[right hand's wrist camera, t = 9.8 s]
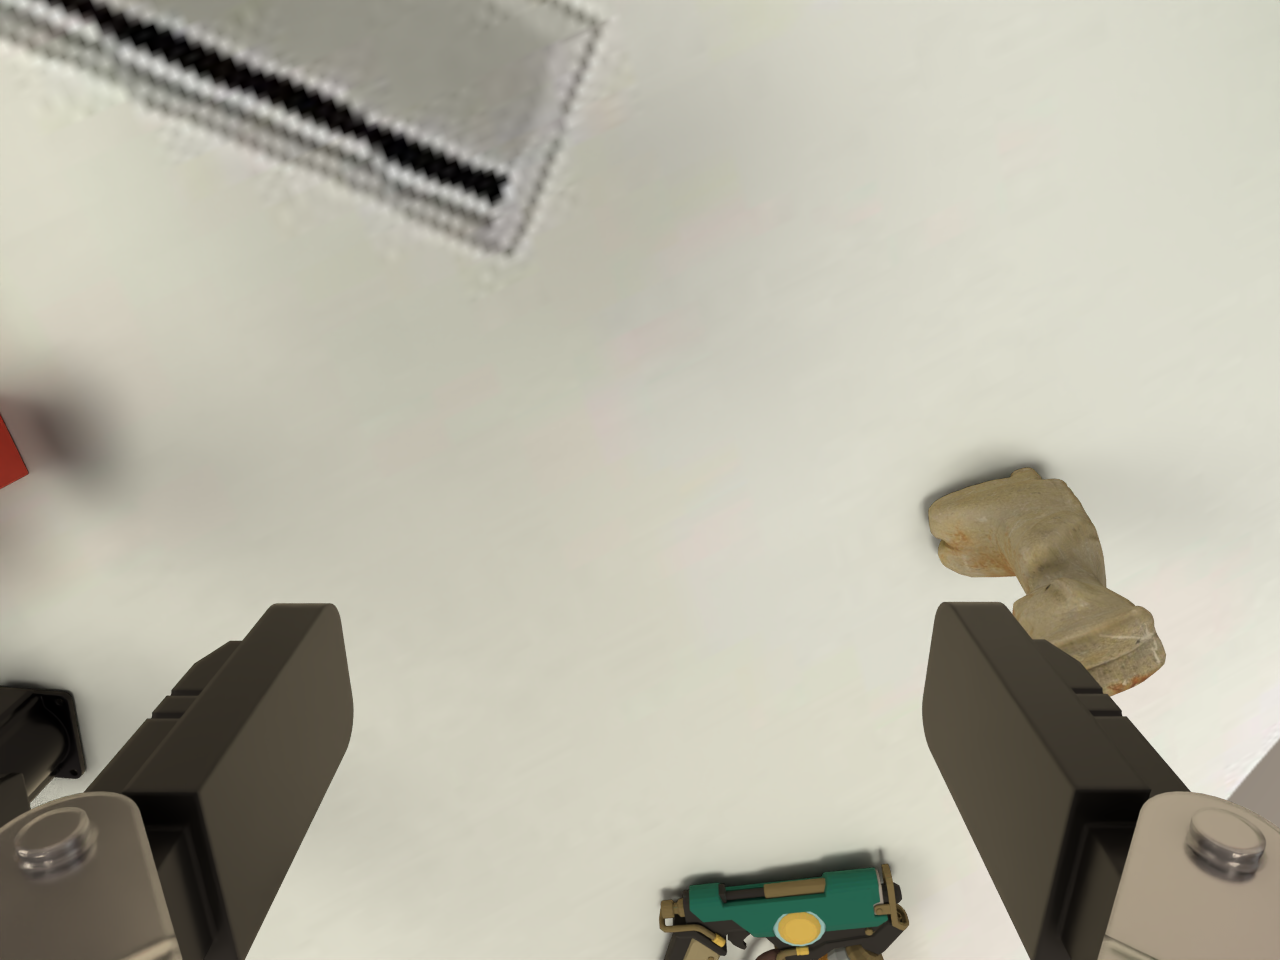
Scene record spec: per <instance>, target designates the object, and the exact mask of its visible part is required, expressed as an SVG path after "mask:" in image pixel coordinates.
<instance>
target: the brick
mask: <svg viewBox="0 0 1280 960" xmlns="http://www.w3.org/2000/svg"><path fill="white" fill-rule="evenodd" d="M27 474H28V471H27V469H26V467H25V465H24V463H23V461H22V459H21V457H20V455H19V452H18V450H17V448H16V446H15V444H14V442H13V440H12V438H11V436H10V434H9V432H8V430H7V428H6V426H5V424H4V422H3V420H2V417H1V415H0V489H1V488H3V487H5V486H7V485H9V484H11V483H13V482H14V481H16V480H18V479H20V478H22V477H24V476H26V475H27Z"/></svg>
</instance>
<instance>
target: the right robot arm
mask: <svg viewBox="0 0 1280 960" xmlns="http://www.w3.org/2000/svg"><path fill="white" fill-rule="evenodd" d="M171 691H172V693H171V696H166V697H165V698H164V700H163V701H162V702H161V703H160V704H159V705H158V707H157V708H156V709H155V710H154V711H153V712H152V718H151V719H146V721H145V722H144V723H143V724H142V725H141V726H140V727H139V729H138V730H137V731H136V732H135V733H134V734H133V736H132V737H131V738H130V739H129V740H128V741H127V743H126V744H125V745H124V746H123V747H122V748H121V750H120V751H119V752H118V753H117V754H116V755H115V757H114V758H113V759H112V760H111V761H110V762H109V764H108V765H107V766H106V767H105V768H104V769H103V771H102V772H101V773H100V774H99V775H98V776H97V778H96V779H95V780H94V781H93V782H92V783H91V784H90V786H89V787H88V788H87V789H86V790H85V791H84V793H78V794H74V795H70V796H65V797H62V798H59V799H56V800H53V801H50V802H47V803H45V804H42V805H40V806H37V807H35V808H33V809H31V810H29V811H27V812H25V813H23V814H21V815H20V816H18V817H16V818H15V819H13V820H11V821H10V822H8V823H7V824H5V825H4V826H3V827H1V828H0V960H245V958H246V956H247V954H248V952H249V950H250V948H251V946H252V944H253V942H254V940H255V937H256V935H257V933H258V931H259V929H260V927H261V925H262V923H263V921H264V919H265V917H266V915H267V913H268V911H269V909H270V907H271V904H272V902H273V900H274V898H275V896H276V894H277V892H278V890H279V888H280V886H281V884H282V882H283V880H284V878H285V876H286V874H287V872H288V869H289V867H290V865H291V863H292V861H293V859H294V857H295V855H296V853H297V851H298V849H299V847H300V845H301V843H302V841H303V839H304V837H305V834H306V832H307V830H308V828H309V826H310V824H311V822H312V820H313V818H314V816H315V814H316V812H317V810H318V808H319V806H320V804H321V802H322V799H323V797H324V795H325V793H326V791H327V789H328V787H329V785H330V783H331V781H332V779H333V777H334V775H335V773H336V771H337V769H338V766H339V764H340V762H341V760H342V758H343V756H344V754H345V752H346V750H347V747H348V744H349V741H350V737H351V732H352V726H353V698H352V691H351V684H350V678H349V671H348V665H347V658H346V651H345V645H344V638H343V631H342V625H341V619H340V615H339V612H338V610H337V608H336V607H335V605H333V604H331V603H277V604H273V605H272V606H270V607H269V608H268V610H267V611H266V612H265V613H264V615H263V616H262V617H261V618H260V619H259V621H258V622H257V623H256V624H255V626H254V627H253V628H252V629H251V631H250V632H249V633H248V634H247V636H246V637H245V638H244V639H243V641H229V642H227V643H226V644H224V645H223V646H221V647H220V648H218V649H217V650H215V651H213V652H212V653H210V654H209V655H207V656H206V657H204V658H202V659H201V660H199V661H198V662H196V663H195V664H194V665H193V666H192V667H191V668H190V669H189V671H188V672H187V673H186V674H185V675H184V676H183V677H182V679H181V680H180V681H179V682H178V683H177V684H176V686H175V687H174V688H173V689H172V690H171ZM922 716H923V726H924V732H925V737H926V741H927V744H928V747H929V749H930V751H931V753H932V755H933V757H934V760H935V762H936V764H937V766H938V768H939V770H940V772H941V774H942V776H943V778H944V780H945V782H946V785H947V787H948V789H949V791H950V793H951V795H952V797H953V799H954V801H955V803H956V805H957V807H958V810H959V812H960V814H961V816H962V818H963V820H964V822H965V824H966V826H967V828H968V830H969V833H970V835H971V837H972V839H973V841H974V843H975V845H976V847H977V849H978V851H979V853H980V855H981V858H982V860H983V862H984V864H985V866H986V868H987V870H988V872H989V874H990V876H991V878H992V880H993V883H994V885H995V887H996V889H997V891H998V893H999V895H1000V897H1001V899H1002V901H1003V903H1004V905H1005V908H1006V910H1007V912H1008V914H1009V916H1010V918H1011V920H1012V922H1013V924H1014V926H1015V928H1016V931H1017V933H1018V935H1019V937H1020V939H1021V941H1022V943H1023V945H1024V947H1025V949H1026V951H1027V953H1028V956H1029V958H1030V960H1280V828H1279V827H1277V826H1276V825H1275V824H1273V823H1272V822H1270V821H1268V820H1267V819H1265V818H1264V817H1262V816H1260V815H1259V814H1257V813H1255V812H1253V811H1251V810H1249V809H1247V808H1245V807H1243V806H1240V805H1238V804H1235V803H1233V802H1230V801H1227V800H1224V799H1221V798H1218V797H1215V796H1210V795H1206V794H1202V793H1194V792H1191V791H1190V790H1189V789H1188V788H1187V787H1186V786H1185V784H1184V783H1183V782H1182V781H1181V780H1180V779H1179V777H1178V776H1177V775H1176V774H1175V773H1174V772H1173V770H1172V769H1171V768H1170V767H1169V766H1168V764H1167V763H1166V762H1165V761H1164V760H1163V759H1162V757H1161V756H1160V755H1159V754H1158V753H1157V752H1156V750H1155V749H1154V748H1153V747H1152V746H1151V745H1150V743H1149V742H1148V741H1147V740H1146V739H1145V737H1144V736H1143V735H1142V734H1141V733H1140V732H1139V730H1138V729H1137V728H1136V727H1135V726H1134V725H1133V723H1132V722H1131V721H1130V720H1129V719H1128V718H1127V716H1122V710H1121V709H1120V708H1119V707H1118V706H1117V705H1116V703H1115V702H1114V701H1113V700H1112V699H1111V698H1110V696H1109V695H1108V694H1103V688H1102V687H1101V686H1100V685H1099V683H1098V682H1097V681H1096V680H1095V679H1094V678H1093V676H1092V675H1091V674H1090V673H1089V672H1088V671H1087V669H1086V668H1085V667H1084V666H1083V665H1082V664H1081V662H1079V661H1078V660H1076V659H1075V658H1073V657H1072V656H1070V655H1069V654H1067V653H1065V652H1064V651H1062V650H1061V649H1059V648H1058V647H1056V646H1055V645H1053V644H1051V643H1050V642H1048V641H1047V640H1045V639H1032V638H1031V637H1030V636H1029V635H1028V633H1027V632H1026V631H1025V629H1024V628H1023V627H1022V626H1021V624H1020V623H1019V622H1018V621H1017V619H1016V618H1015V617H1014V616H1013V614H1012V613H1011V612H1010V611H1009V609H1008V608H1007V607H1006V606H1005V605H1004V604H1003V603H1001V602H943V603H942V604H940V606H939V607H938V609H937V612H936V615H935V620H934V627H933V633H932V640H931V647H930V654H929V660H928V667H927V674H926V681H925V687H924V694H923V702H922Z"/></svg>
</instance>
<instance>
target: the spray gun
mask: <svg viewBox="0 0 1280 960" xmlns="http://www.w3.org/2000/svg"><path fill="white" fill-rule="evenodd" d="M881 867H882V874H883V882H884V883H883V884H881V881H880V877H879V873H878V870H877V869H876V870H875V868H874V867H872V868H862V869H852V870H843V871H833V872H824V873H823V874H822V877H814V878H805V879H795V880H786V881H777V882H768V883H759V884H750V885H741V886H732V887H725V884H720V883H709V884H699V885H690V886H689V890H684V891H683V898H681V899H679V900H678V901H677V903H674V901H673V900H664V901H662V902H661V909H660V916H659V924H660V929H661V930H662V931H664V932H673V935H672V938H671V941H670V944H669V946H668V949H667V952H666V955H665V958H664V960H718V959H719V957H720V955H721V956H725V955H726V953H727V946H726V935H727V934H728V940H730V941H731V942H732V944H733V945H735V946H737V947H739V948H741V949H745V948H746V947H747V946H746V943H745V942H744V941H743V940H744V939H745V938H746V937H747V936H748V935H750V934H751V935H753V936H754V937H766V938H767V939H768V940H769V941H771V942H772V943H773V944H774V946H775V949H772V950H769V951H767V952H764V953H763V954H761V955H760V956H758V957H757V958H756V960H818V959H819V960H884V959H883V957H882V954H881V953H883V952H884V951H885V950H886V949H887V948H888V947H889V946H890V945H891V944H892V943H893V942H894V940H895V939H896V938H897V937H898V936H899V935H900V934H901V933H902V932H903V931H904V930H905V929H906V928H907V927H908V926H909V920H908V917H907V914H906V912H905V910H904V909H903V908H902V907H901V906H900V905H898V904H897V903H899V902H900V901H901V900H902V895H901V890H900V886H899V885H897V884H896V883H894V882H893V880H892V876H891V872H890V868H889V865H888V864H882V865H881ZM665 918H673V926H666V925H665Z"/></svg>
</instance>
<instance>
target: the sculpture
mask: <svg viewBox="0 0 1280 960" xmlns="http://www.w3.org/2000/svg"><path fill="white" fill-rule="evenodd" d="M928 515H929V526H930V531H931V533H932V534H933V535H934V536H935V538H938V539H942V540H941V542H940V544H939V547H938V555H939V558H940V560H941V562H942V564H943V565H944V566H946V567H947V568H949V569H951V570H953V571H955V572H957V573H959V574H962V575H965V576H970V577H1008V576H1016V577H1017V579H1018V580H1019V582H1020V584H1021V586H1022V588H1023V589H1024V591H1025V593H1026V596H1024V597H1022V598H1020V599H1019V600H1017V601H1016V602H1014V604H1013V613H1012V614H1013V616H1014V617H1015V618H1016V619H1017V621H1018V622H1019V623H1020V624H1021V626H1022V627H1023V628H1024V629H1025V631H1026V632H1027V633H1028V635H1029V636H1030V637H1031V638H1032V639H1045V640H1047V641H1048V642H1050V643H1051V644H1053V645H1055V646H1056V647H1058V648H1059V649H1061V650H1062V651H1064V652H1065V653H1067V654H1069V655H1070V656H1072V657H1073V658H1075V659H1076V660H1078V661H1079V662H1081V664H1082V665H1083V666H1084V667H1085V668H1086V669H1087V671H1088V672H1089V673H1090V674H1091V675H1092V676H1093V678H1094V679H1095V680H1096V681H1097V682H1098V683H1099V685H1100V686H1101V687H1102V688H1103V694H1108V695H1109V696H1113V695H1115V694H1118V693H1120V692H1123V691H1125V690H1127V689H1130V688H1132V687H1134V686H1136V685H1138V684H1140V683H1141V682H1143V681H1145V680H1146V679H1147V678H1149V677H1150V676H1151V675H1153V674H1154V673H1155V672H1156V671H1157V670H1159V669H1160V668H1161V667H1162V666H1163V665H1164V663H1165V658H1166V653H1165V650H1164V647H1163V645H1162V642H1161V640H1160V639H1159V637H1158V635H1157V633H1156V630H1155V627H1154V619H1153V616H1152V614H1151V613H1150V612H1149V611H1148V610H1146V609H1145V608H1143V607H1141V606H1135V605H1134V604H1133V603H1132V602H1130V601H1129V600H1128V599H1126V598H1124V597H1122V596H1121V595H1119V594H1117V593H1115V592H1113V591H1111V590H1109V589H1108V588H1106V575H1105V566H1104V557H1103V552H1102V548H1101V544H1100V541H1099V538H1098V535H1097V531H1096V529H1095V526H1094V525H1093V523H1092V522H1091V520H1090V518H1089V517H1088V515H1087V514H1086V512H1085V510H1084V509H1083V507H1082V505H1081V503H1080V501H1079V500H1078V499H1077V497H1076V496H1075V495H1074V494H1073V492H1072V491H1071V489H1070V488H1069V487H1067V484H1066V483H1065V482H1064V481H1062V480H1060V479H1044V480H1042V478H1041V476H1040V475H1039V474H1038V473H1037V472H1036V471H1035V470H1034V469H1032V468H1021V469H1018V470H1016V471H1014V472H1013V473H1012V474H1011V476H1010V477H1009V478H1003V479H996V480H991V481H987V482H984V483H980V484H977V485H973V486H970V487H967V488H964V489H962V490H959V491H956V492H952V493H950V494H948V495H946V496H944V497H942V498H940V499H938V500H936V501H935V502H934V503H933V504H932V505H931V507H930V508H929V510H928Z"/></svg>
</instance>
